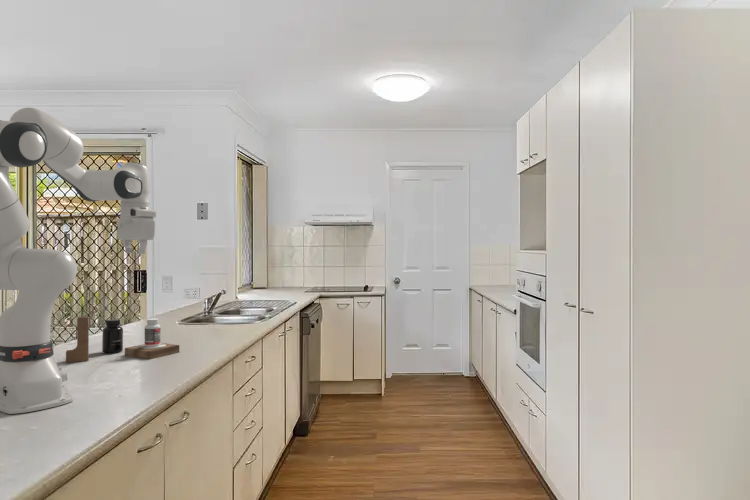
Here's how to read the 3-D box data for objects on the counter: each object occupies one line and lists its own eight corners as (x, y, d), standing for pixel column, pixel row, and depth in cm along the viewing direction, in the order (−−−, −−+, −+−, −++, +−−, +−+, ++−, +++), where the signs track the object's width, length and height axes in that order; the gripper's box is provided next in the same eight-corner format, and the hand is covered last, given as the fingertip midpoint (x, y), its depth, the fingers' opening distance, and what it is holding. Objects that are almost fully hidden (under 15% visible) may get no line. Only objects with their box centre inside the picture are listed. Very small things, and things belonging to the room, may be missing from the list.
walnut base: (179, 352, 188) (179, 344, 188) (150, 359, 177) (150, 350, 177) (154, 348, 194) (154, 340, 194) (124, 355, 182) (124, 347, 182)
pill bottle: (157, 346, 183) (158, 320, 183) (142, 347, 182) (142, 320, 182) (162, 344, 188) (162, 317, 188) (147, 344, 188) (147, 318, 187)
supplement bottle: (116, 354, 184) (116, 321, 184) (98, 353, 184) (98, 321, 184) (126, 350, 191) (126, 318, 191) (108, 350, 191) (108, 318, 191)
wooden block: (88, 359, 176) (88, 316, 176) (88, 361, 173) (88, 317, 173) (66, 360, 173) (66, 317, 173) (65, 362, 170) (65, 318, 170)
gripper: (112, 212, 173) (112, 253, 173) (139, 210, 159) (139, 254, 160) (131, 213, 178) (130, 253, 178) (158, 211, 164) (158, 254, 164)
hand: (134, 253), depth 169 cm, fingers open, 8 cm apart
